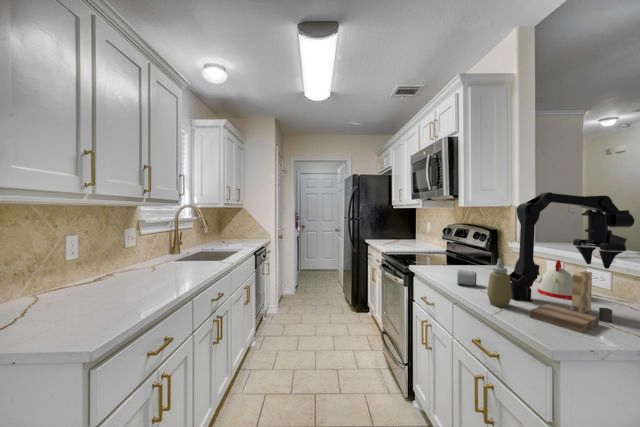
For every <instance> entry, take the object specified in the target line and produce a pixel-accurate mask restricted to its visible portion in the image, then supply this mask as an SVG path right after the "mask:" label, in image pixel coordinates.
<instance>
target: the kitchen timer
mask: <svg viewBox="0 0 640 427" xmlns="http://www.w3.org/2000/svg"><path fill="white" fill-rule="evenodd" d="M572 286H573V275H571V273H570V272H569V271H567V270H566V269H565V268H562V262H561V260H559V259H557V261H555V266H554V267H552V268H549V269H548V270H546V272H544V273H543V275H541V276H540V277H539V279H538V285H537V293H539V294H541V295H544V296H548V297H550V298H556V299H561V300H572Z"/></svg>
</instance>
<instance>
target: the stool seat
mask: <svg viewBox="0 0 640 427" xmlns="http://www.w3.org/2000/svg"><path fill="white" fill-rule="evenodd" d="M529 318H531V319H534V320H537V321H541V322H544V323H546V324H550V325H553V326H557V327H560V328H563V329H567V330H570V331H574V332H577V333H581V334H584V333H586V332H588V331H590V330H592V329H593V328H595V327H597V326H599V322H600V319H599V316H596V315H592V314H588V313H586V312H585V313H581V312H577V311H573V310H570V309H569V308H566V307H561V306H556V305H552V304H548V303H546V304H543V305H540V306H537V307H534V308H532V309H530V310H529Z"/></svg>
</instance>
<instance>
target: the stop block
mask: <svg viewBox="0 0 640 427" xmlns="http://www.w3.org/2000/svg"><path fill="white" fill-rule="evenodd" d="M598 317H599V321H602V322H608V323H609V322H610V323H612V322H613V310H612V309H610V308H609V307H599V308H598Z"/></svg>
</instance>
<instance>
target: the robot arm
mask: <svg viewBox="0 0 640 427" xmlns="http://www.w3.org/2000/svg"><path fill="white" fill-rule="evenodd" d="M549 204H558V205H559V204H562V205H569V206H570V205H571V206H577V207H580V208H582V209H586V210H585V211H584V212H583V213H581V215H580V216H583V217H584V216H587V228H584V232H585V233H587V238H575V239H573V241H572V242H573V243H572V244H573V246H575V248H576V249H577V250H578V252H579V253H580V255H581V256H582V259H583V260H584V261H585V263H586V264H587V265H591V264H592V259H593V251H595V250H596V249H597V248H599V250H598V252H599V256H600V259H601V262H602V264H603V267H604V269H606V270H607V269H610V266H612V265H611V264H612V263H613V261H614V259H615V258H616V256H618V255H619V254H623V253H624V252H627V245H626V242H627V240H628V238H625V237H622V236H619V235H615V234H613V231H612V230H611V229H609V228H631V227H632V226H633V225H634V224H635V218H634V216H633V215H632V214H631V213H630V210H629V209H627V210H626V209H625V210H624V209H623V210H622V209H620V210H619V208H618V207H617V206H616V205H615V203H614V202H613V200H612V198H611V196H609V195H589V196H588V195H587V196H583V195H572V194H566V193H565V194H563V193H553V192H550V191H548V192H542V193H540V194H538V195H537V196H535V197H534V198H531V199H530V200H528V201H526V202H524V203H520V204H519V205H518V206H517V207H516V216H517V220H518V222H519V224H520V232H519V233H520V235H519V253H518V254H519V255H518V256H519V257H518V259H517V261H516V263H515V265H514V269H513V271H511V273H510V274H508V275H509V276H510V283H511V294H512V298H511V300H514V301H522V302H523V301H526V302H533V299H531V298H532V288H531V287H533V285H534V282H535V281H536V280H537V279H538V276H540V264H537V263H535V261H534V252H535V251H534V250H535V249H534V248H535V229H536V224H537V223H538V220H539V219H540V215H541V212H542V211H543V210H544V209H546V208H547V207H548V206H549Z"/></svg>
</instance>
